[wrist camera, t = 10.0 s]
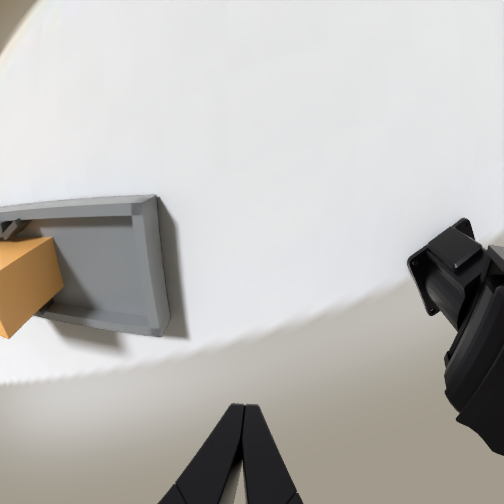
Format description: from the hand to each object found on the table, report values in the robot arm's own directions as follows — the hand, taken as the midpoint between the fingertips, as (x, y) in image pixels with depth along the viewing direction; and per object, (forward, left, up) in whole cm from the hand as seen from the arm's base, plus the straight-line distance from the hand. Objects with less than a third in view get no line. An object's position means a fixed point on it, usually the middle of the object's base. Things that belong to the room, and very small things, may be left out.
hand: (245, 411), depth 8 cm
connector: (+12, +17, -12) cm, 24 cm away
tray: (+10, +15, -13) cm, 22 cm away
